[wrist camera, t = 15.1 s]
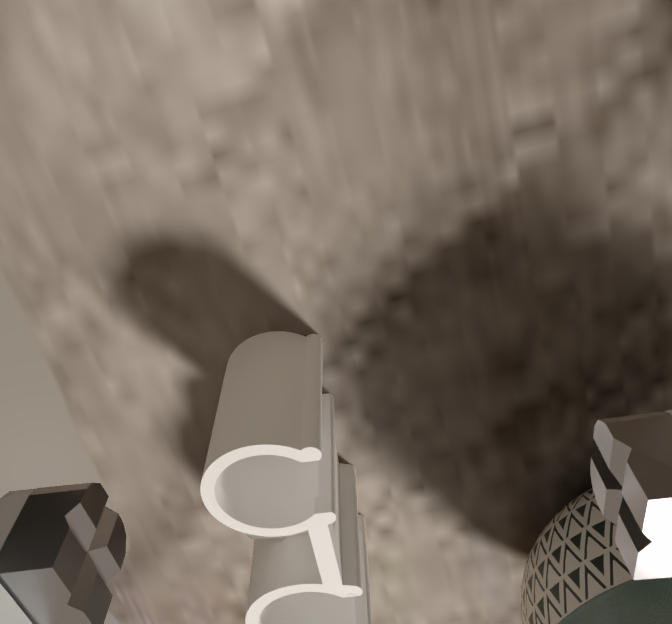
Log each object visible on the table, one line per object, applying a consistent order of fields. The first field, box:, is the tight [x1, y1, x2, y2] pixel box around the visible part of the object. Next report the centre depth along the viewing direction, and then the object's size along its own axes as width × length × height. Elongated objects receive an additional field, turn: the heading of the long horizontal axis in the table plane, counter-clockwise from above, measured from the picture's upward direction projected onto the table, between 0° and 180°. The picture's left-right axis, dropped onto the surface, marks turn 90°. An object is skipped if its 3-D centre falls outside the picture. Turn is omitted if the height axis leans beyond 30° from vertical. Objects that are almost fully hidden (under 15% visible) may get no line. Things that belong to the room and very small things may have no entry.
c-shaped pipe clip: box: [200, 331, 372, 624], centre depth 48 cm, size 25×10×12 cm, turn 9°
